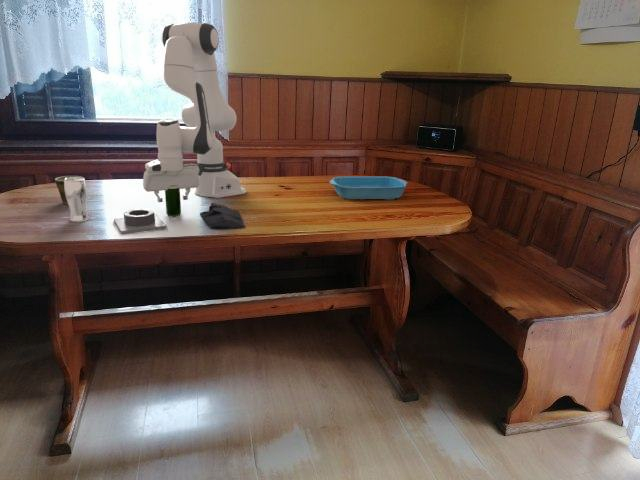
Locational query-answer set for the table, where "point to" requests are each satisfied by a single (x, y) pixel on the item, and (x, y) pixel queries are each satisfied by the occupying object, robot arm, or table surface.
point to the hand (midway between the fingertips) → (172, 200)
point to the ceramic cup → (62, 187)
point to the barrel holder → (139, 221)
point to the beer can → (173, 201)
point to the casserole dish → (368, 187)
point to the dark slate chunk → (222, 217)
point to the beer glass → (76, 198)
